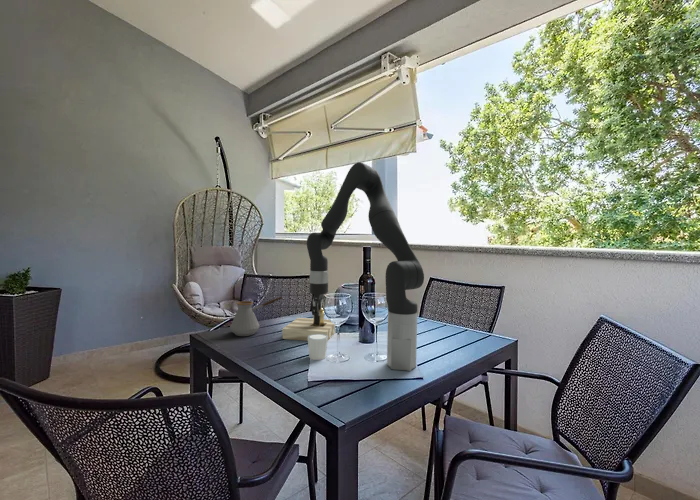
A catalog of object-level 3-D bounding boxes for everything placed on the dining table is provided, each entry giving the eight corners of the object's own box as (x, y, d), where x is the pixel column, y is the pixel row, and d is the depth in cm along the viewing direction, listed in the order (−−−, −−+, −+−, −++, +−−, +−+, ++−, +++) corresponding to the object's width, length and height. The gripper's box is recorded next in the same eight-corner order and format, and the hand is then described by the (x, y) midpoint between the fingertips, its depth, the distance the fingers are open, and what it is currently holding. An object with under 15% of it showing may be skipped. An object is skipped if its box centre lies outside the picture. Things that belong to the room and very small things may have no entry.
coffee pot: (227, 338, 137) (227, 300, 136) (232, 330, 148) (232, 295, 147) (283, 336, 140) (283, 299, 140) (283, 328, 152) (284, 294, 151)
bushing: (323, 329, 140) (323, 309, 139) (309, 328, 141) (309, 309, 141) (327, 325, 146) (327, 306, 145) (313, 325, 147) (313, 306, 146)
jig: (326, 342, 133) (327, 331, 133) (282, 338, 137) (282, 328, 137) (337, 329, 151) (337, 320, 151) (298, 326, 155) (298, 317, 154)
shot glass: (309, 361, 113) (309, 340, 113) (305, 354, 120) (306, 334, 120) (329, 359, 115) (329, 338, 115) (325, 352, 122) (325, 332, 121)
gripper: (323, 284, 135) (322, 328, 135) (332, 279, 149) (331, 319, 149) (304, 283, 136) (304, 327, 137) (315, 279, 150) (314, 318, 151)
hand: (318, 322), depth 143 cm, fingers closed on bushing, 4 cm apart
